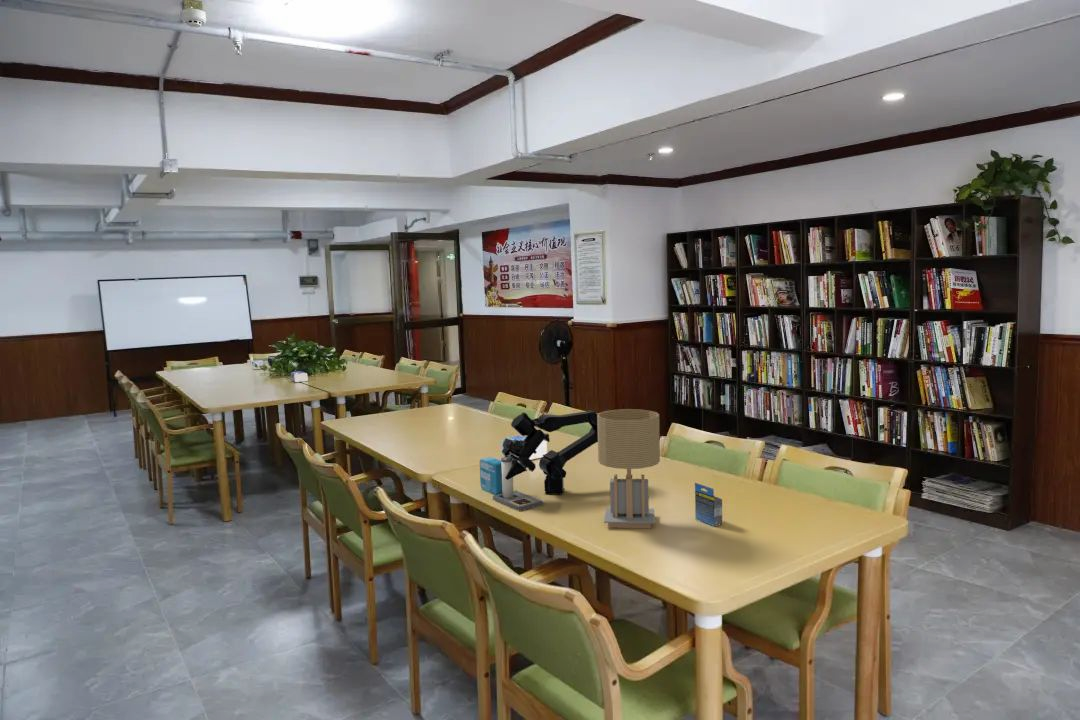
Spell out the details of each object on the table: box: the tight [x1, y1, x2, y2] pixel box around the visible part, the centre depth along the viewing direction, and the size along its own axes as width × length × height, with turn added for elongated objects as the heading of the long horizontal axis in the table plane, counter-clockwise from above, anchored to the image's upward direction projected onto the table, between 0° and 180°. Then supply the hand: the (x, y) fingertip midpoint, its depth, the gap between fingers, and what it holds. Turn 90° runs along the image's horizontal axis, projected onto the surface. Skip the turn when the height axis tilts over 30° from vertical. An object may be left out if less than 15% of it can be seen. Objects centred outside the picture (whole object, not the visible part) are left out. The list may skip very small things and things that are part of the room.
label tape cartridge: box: [694, 482, 723, 527], centre depth 228 cm, size 9×4×12 cm, turn 30°
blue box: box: [479, 456, 502, 495], centre depth 269 cm, size 12×4×12 cm, turn 35°
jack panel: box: [492, 490, 544, 512], centre depth 255 cm, size 10×17×2 cm, turn 36°
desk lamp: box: [597, 408, 661, 529], centre depth 229 cm, size 20×20×35 cm
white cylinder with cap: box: [500, 456, 515, 499], centre depth 257 cm, size 4×4×15 cm
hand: (503, 477), depth 256 cm, fingers closed on white cylinder with cap, 4 cm apart
